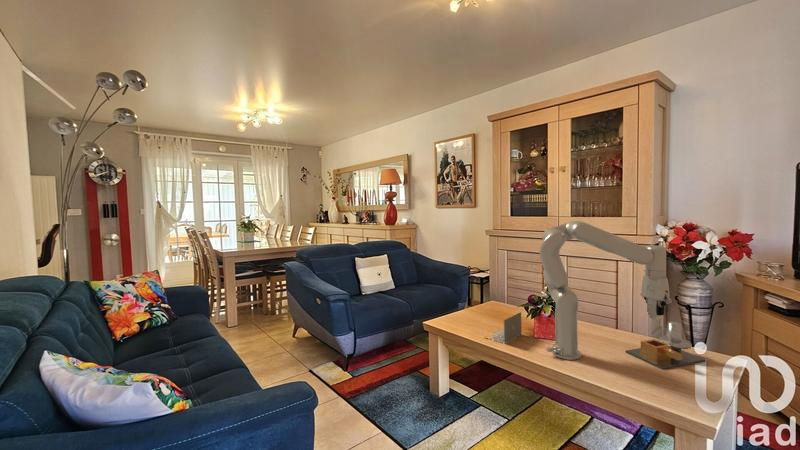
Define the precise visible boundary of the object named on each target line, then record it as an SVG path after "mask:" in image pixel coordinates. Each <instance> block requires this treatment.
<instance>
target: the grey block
mask: <svg viewBox="0 0 800 450" xmlns="http://www.w3.org/2000/svg"><path fill="white" fill-rule="evenodd" d="M661 303H662V301H661ZM657 307H658V300H654V299H651V298H648V312H647V315H648V317H649V318H650V319H652V320H656V321H657V320H662V319H663V317H664V315H660V316H658V315H657Z"/></svg>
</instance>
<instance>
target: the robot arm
mask: <svg viewBox="0 0 800 450" xmlns="http://www.w3.org/2000/svg"><path fill="white" fill-rule="evenodd" d="M573 239H575V240H577V241H579V242H583V243H584V244H587V245H590V246H591V247H594V248H596V249H598V250H602V251H603V252H606V253H610V254H613V255H617V256H619V257H622V258H624V259H626V260H627V261H630V262H632V263H636V264H638V265H641V266H643V265H645V268H644V269H643V272H644V274H643V277H642V281H641V289H640V290H641V292H640V296H641V297H642V298H643V300H644V301H645V303H646V304H647V308H646V311H647V313H648V298H651V299H654V300H658V307H657V315H658V316H660V315H663V316H664V315H665V307H666V306H668V304H671V303H672V302H673V300H672V299H671V298H670V284H669V280H668V277H667V249H666V247H665V246H663V245H641V244H637V243H635V242H633V241H630V240H628V239H625V238H623V237H620V236H618V235H616V234H614V233H611V232H609V231H606V230H604V229H601V228H599V227H597V226H594V225H592V224H589V223H587V222H583V221H579V220H572V221H569V222H566V223H563V224H560V225H556V226H553V227H550V228H547V229H545V231H544V232H542V243H541V245H540V247H539V258H540V262H541V264H542V267H543V272H542V275H543V280H544V282H545V285H546V286H547V290H548V293H549V294H550V296H551V299H552V300H553V301H554V302H555V308H554V309H555V310H554V325H555V326H554V328H555V329H554V333H555V337H554V338H555V343H554V344H553V346H552V347H546V351H547V353H551V354H553V355H554V356H555V357H556V358H559V359H563V360H570V361H571V360H572V361H573V360H575V361H576V360H579V359H581V358H582V352H581V351H579V349H578V347H579V346H578V342H579V341H578V310H579V298H578V296H577V294H576V293H575V291H573V290H572V289H571V288H570V287H569V284H568V281H569V277H568V274H567V271H566V269H565V266H564V264H563V262H562V258H561V256H560V252H561V251H560V250H561V249H562V247H563V246H564V245H565V243H566V242H567V241H570V240H573ZM661 301H662V303H661ZM553 355H552V356H553Z"/></svg>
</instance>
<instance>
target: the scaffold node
mask: <svg viewBox="0 0 800 450" xmlns="http://www.w3.org/2000/svg"><path fill="white" fill-rule="evenodd" d="M691 348H692V343H691V341H689V340H687V339H685V338H682V323H681V322H678V321H672V320H671V321H668V322H667V335H663V336H659V337H658V340H657V339H655V338H653V339H647V340H640V347H638V348H635V349H634V348H633V349H628V350H627V349H626V350H625V353H626V354H628V355H630V356H632V357H635V358H636V359H639V360H640V361H643V362H645V363H648V364H650V365H652V366H653V367H656V368H658V369H660V370H668V369H673V368H677V367H684V366H688V365H695V364H699V363H700V364H701V363H704V362H706V358H703V357H701V356H698V355H696V354H693V353H690V352H687V351H685V350H688V349H691Z"/></svg>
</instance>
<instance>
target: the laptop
mask: <svg viewBox="0 0 800 450" xmlns="http://www.w3.org/2000/svg"><path fill="white" fill-rule="evenodd" d="M498 331H499V332H498ZM522 331H523V330H522V312H518V313H516V314H515V315H512V316H510V317H508V318H505V319H504V320H503V328H499V330H497V331H494V332H492V333H493V334H494V333H495V334H496V335H497V336H496V335H492V336H493V337H492V338H493V339H494V341H493V342H497V343H499V342H501V343H500V344H503V343H504V344H503V345H506V344H507V342H508V343H509V342H511V341H513V340H514V339H516V338H518V337H519V336H521V335H522ZM496 332H497V333H496ZM499 333H500V334H499ZM503 333H504V334H503ZM501 334H502V335H503V336H502V335H501ZM500 336H501V337H500ZM517 336H518V337H517ZM515 337H516V338H515ZM492 338H491V337H490V338H489V339H492ZM489 339H488V340H489ZM512 339H513V340H512ZM496 340H497V341H496ZM498 340H499V341H498ZM510 340H511V341H510ZM505 343H506V344H505Z"/></svg>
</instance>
